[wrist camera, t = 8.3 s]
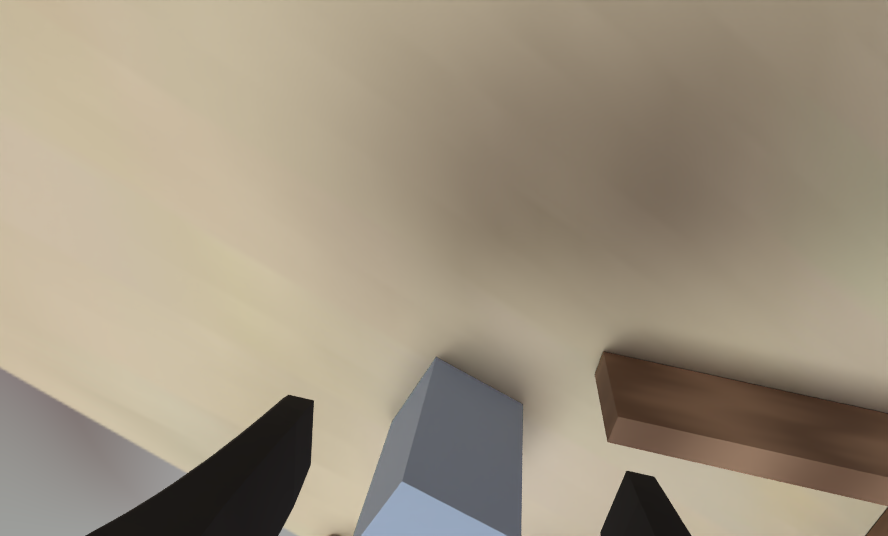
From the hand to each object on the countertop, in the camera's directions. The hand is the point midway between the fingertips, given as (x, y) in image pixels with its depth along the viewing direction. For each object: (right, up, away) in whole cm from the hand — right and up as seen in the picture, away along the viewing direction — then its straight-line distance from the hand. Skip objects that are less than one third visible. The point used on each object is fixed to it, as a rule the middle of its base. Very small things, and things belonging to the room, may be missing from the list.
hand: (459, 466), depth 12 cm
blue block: (0, -2, +12) cm, 13 cm away
